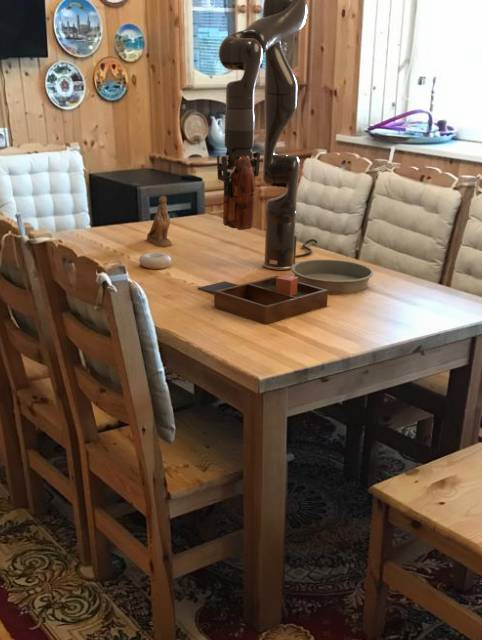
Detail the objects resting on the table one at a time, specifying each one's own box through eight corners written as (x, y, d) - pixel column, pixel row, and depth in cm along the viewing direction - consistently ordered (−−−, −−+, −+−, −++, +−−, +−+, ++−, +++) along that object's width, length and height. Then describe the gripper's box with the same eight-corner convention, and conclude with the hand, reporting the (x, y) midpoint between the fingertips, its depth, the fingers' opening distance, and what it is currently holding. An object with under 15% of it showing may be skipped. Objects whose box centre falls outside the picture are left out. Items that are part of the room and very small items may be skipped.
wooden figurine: (216, 222, 223) (216, 151, 214) (236, 220, 226) (237, 150, 217) (238, 231, 215) (238, 158, 205) (258, 229, 218) (260, 157, 208)
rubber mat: (225, 282, 242) (225, 281, 242) (251, 290, 236) (251, 289, 236) (197, 289, 235) (197, 287, 235) (224, 297, 229) (224, 295, 228)
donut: (135, 268, 252) (166, 271, 251) (134, 257, 251) (165, 259, 249) (145, 261, 261) (175, 263, 259) (144, 250, 259) (175, 252, 257)
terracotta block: (282, 290, 228) (283, 274, 226) (297, 293, 226) (298, 277, 224) (275, 294, 224) (276, 277, 222) (289, 297, 222) (290, 280, 220)
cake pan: (273, 282, 244) (273, 267, 242) (325, 269, 260) (326, 255, 258) (337, 301, 230) (339, 285, 228) (388, 286, 246) (390, 270, 244)
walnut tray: (276, 291, 236) (276, 275, 234) (327, 306, 225) (328, 289, 223) (213, 307, 220) (214, 290, 218) (265, 324, 209) (266, 307, 207)
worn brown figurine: (171, 252, 282) (175, 201, 270) (156, 253, 280) (160, 201, 268) (159, 238, 290) (163, 187, 278) (145, 238, 287) (148, 187, 276)
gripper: (230, 131, 201) (229, 201, 210) (269, 127, 210) (266, 194, 219) (208, 127, 205) (208, 196, 214) (248, 124, 215) (246, 190, 223)
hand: (238, 195), depth 216 cm, fingers closed on wooden figurine, 6 cm apart
